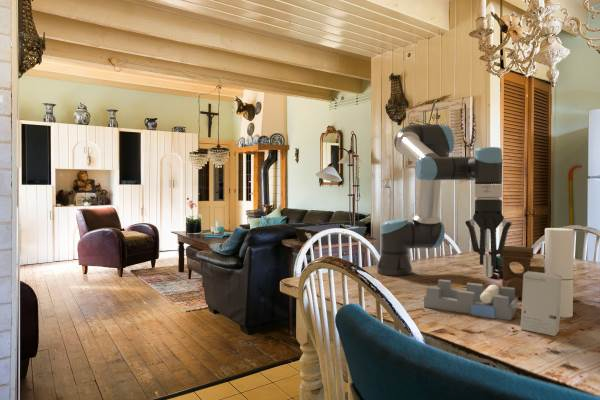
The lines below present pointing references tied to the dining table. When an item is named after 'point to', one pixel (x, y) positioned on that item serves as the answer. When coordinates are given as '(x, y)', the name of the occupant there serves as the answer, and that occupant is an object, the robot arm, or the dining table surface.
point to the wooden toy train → (522, 257)
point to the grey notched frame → (471, 300)
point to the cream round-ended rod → (489, 294)
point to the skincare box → (541, 303)
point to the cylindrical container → (561, 263)
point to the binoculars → (497, 268)
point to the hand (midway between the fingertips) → (487, 275)
